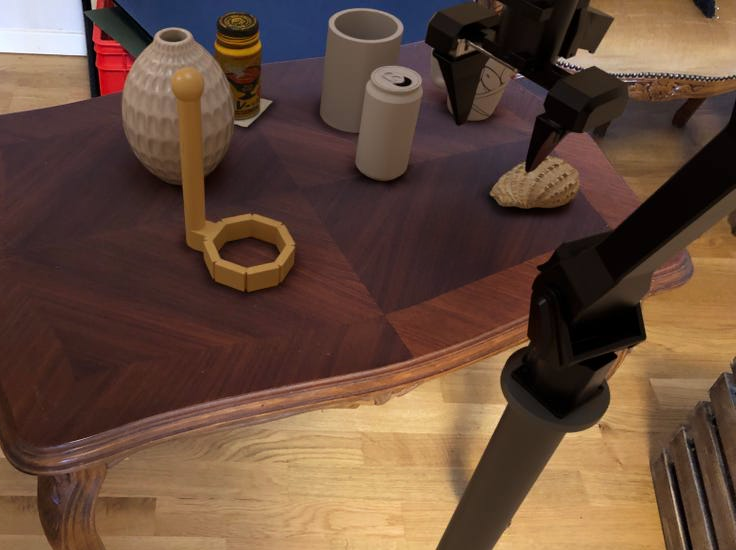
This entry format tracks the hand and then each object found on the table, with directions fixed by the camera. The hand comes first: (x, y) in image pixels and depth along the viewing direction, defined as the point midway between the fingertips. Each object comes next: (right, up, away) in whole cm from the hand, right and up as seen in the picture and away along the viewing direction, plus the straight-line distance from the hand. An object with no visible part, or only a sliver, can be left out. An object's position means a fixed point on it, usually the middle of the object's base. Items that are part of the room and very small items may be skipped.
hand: (494, 146), depth 69 cm
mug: (+5, +14, +29) cm, 33 cm away
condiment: (-26, +14, +28) cm, 41 cm away
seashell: (+9, -2, +16) cm, 19 cm away
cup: (-10, +12, +27) cm, 32 cm away
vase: (-32, +2, +18) cm, 37 cm away
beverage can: (-8, +3, +19) cm, 21 cm away
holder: (-25, -9, +9) cm, 28 cm away
